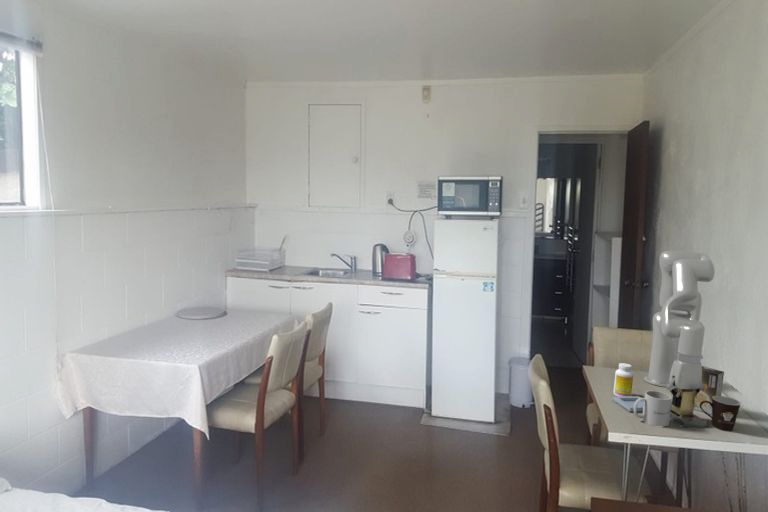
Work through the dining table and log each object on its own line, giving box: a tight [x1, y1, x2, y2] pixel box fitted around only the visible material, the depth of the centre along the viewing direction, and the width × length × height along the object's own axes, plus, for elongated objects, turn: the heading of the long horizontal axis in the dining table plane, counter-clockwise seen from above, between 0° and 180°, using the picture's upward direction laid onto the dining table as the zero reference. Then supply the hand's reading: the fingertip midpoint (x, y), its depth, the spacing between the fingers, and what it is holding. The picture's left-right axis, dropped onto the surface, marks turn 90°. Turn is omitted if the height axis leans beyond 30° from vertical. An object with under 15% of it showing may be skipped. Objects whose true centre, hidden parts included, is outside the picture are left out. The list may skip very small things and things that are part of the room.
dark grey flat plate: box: [669, 401, 708, 428], centre depth 203 cm, size 9×22×2 cm, turn 9°
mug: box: [633, 390, 673, 428], centre depth 196 cm, size 12×9×10 cm
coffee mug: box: [700, 395, 741, 432], centre depth 195 cm, size 12×9×10 cm
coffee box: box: [693, 365, 725, 416], centre depth 209 cm, size 9×6×16 cm
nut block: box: [671, 386, 697, 417], centre depth 199 cm, size 5×5×9 cm
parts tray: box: [612, 395, 644, 413], centre depth 209 cm, size 11×11×2 cm
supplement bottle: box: [612, 362, 634, 397], centre depth 220 cm, size 7×7×13 cm
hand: (682, 405), depth 200 cm, fingers closed on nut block, 5 cm apart
